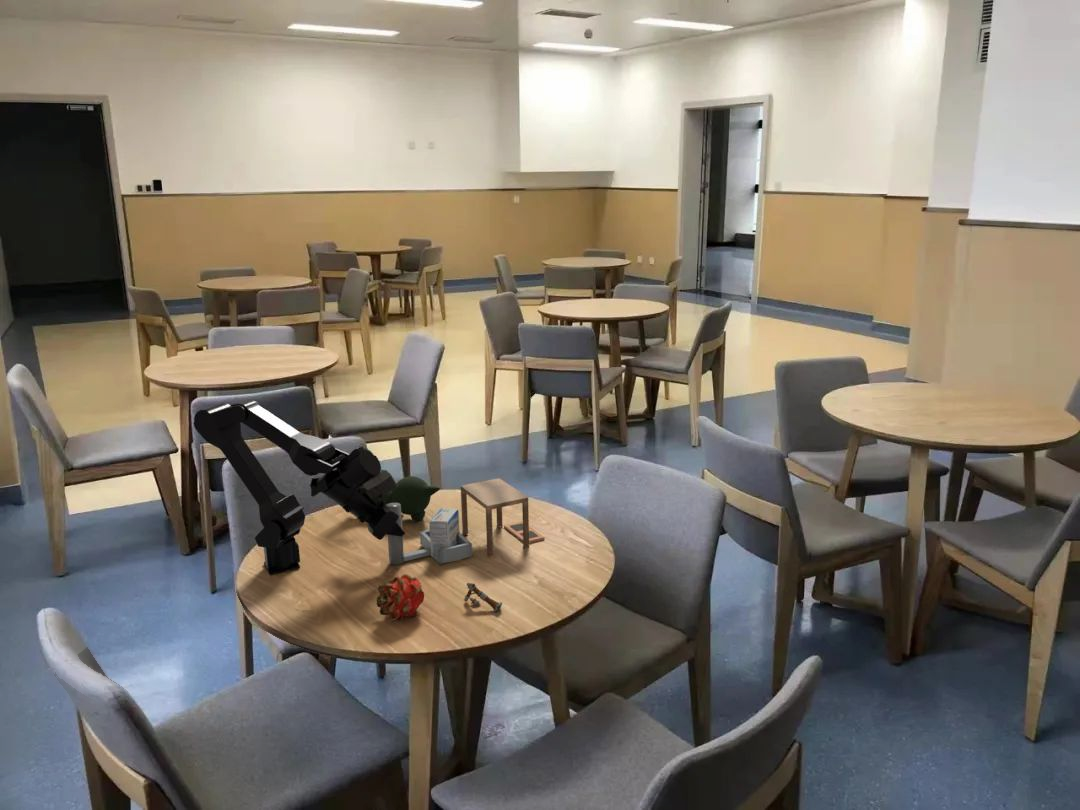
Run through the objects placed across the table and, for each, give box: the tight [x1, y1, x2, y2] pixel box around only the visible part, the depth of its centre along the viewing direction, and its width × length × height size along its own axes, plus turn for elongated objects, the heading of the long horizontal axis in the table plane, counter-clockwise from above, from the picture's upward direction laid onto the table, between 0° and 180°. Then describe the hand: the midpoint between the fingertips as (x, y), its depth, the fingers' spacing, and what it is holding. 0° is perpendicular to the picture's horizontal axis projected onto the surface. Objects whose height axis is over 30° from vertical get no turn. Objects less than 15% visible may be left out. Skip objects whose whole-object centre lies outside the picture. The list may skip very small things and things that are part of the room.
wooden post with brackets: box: [463, 582, 503, 613], centre depth 158 cm, size 2×8×4 cm, turn 61°
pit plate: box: [503, 520, 545, 544], centre depth 192 cm, size 5×11×1 cm, turn 29°
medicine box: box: [428, 508, 461, 558], centre depth 182 cm, size 8×4×9 cm, turn 168°
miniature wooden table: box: [460, 477, 530, 558], centre depth 187 cm, size 10×15×12 cm
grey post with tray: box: [386, 503, 473, 565], centre depth 179 cm, size 17×12×13 cm
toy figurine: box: [363, 447, 441, 523], centre depth 200 cm, size 9×19×25 cm
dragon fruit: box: [376, 573, 425, 621], centre depth 156 cm, size 8×8×12 cm
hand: (400, 531), depth 177 cm, fingers closed on grey post with tray, 3 cm apart
